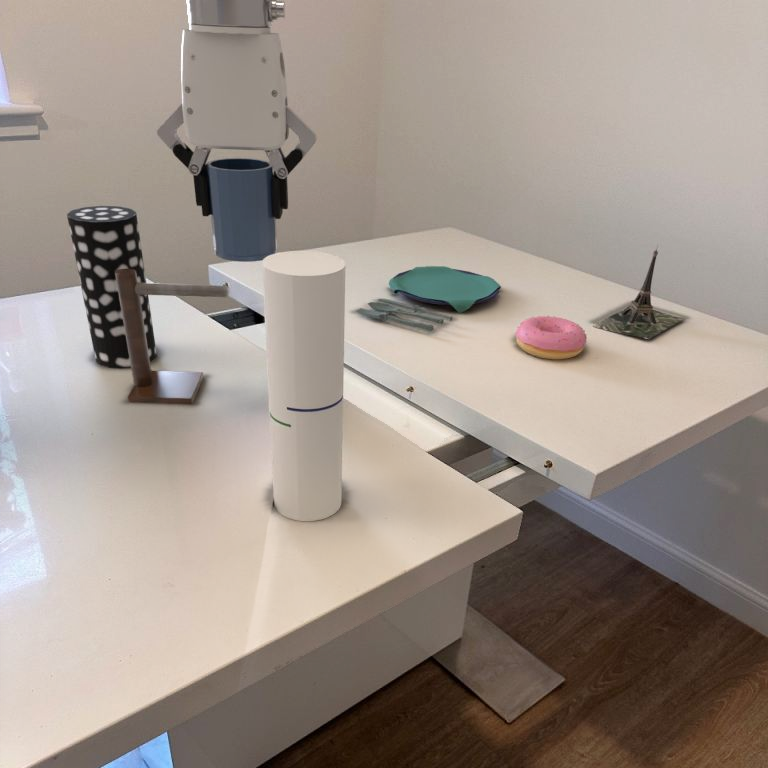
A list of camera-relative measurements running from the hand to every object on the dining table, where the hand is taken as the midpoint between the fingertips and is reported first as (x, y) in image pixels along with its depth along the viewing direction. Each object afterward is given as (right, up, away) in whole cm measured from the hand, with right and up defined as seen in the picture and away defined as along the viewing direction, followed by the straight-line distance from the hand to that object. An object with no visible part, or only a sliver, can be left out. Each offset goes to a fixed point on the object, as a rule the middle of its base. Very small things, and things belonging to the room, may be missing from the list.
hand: (243, 213), depth 77 cm
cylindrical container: (+7, -31, -1) cm, 32 cm away
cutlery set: (+24, +6, +52) cm, 57 cm away
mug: (0, -2, +4) cm, 5 cm away
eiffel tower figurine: (+60, 0, +48) cm, 76 cm away
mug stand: (-11, -17, +18) cm, 27 cm away
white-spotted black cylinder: (-22, -11, +25) cm, 35 cm away
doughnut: (+41, -7, +36) cm, 55 cm away
